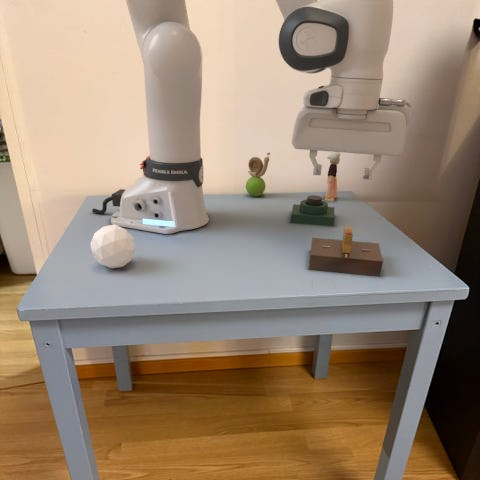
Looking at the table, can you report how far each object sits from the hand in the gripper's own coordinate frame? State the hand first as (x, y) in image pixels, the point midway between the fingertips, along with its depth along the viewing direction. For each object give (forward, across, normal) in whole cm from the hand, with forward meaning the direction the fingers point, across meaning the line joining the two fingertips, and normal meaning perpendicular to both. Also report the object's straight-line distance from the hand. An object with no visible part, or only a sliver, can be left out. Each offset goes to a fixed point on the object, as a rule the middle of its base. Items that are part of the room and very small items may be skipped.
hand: (341, 176), depth 87 cm
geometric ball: (+15, +39, +18) cm, 46 cm away
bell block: (+15, +5, -18) cm, 24 cm away
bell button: (+11, +5, -18) cm, 21 cm away
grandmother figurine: (+15, +1, -37) cm, 40 cm away
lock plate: (+15, -2, +7) cm, 17 cm away
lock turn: (+12, -2, +7) cm, 14 cm away
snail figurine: (+15, +21, -34) cm, 42 cm away
